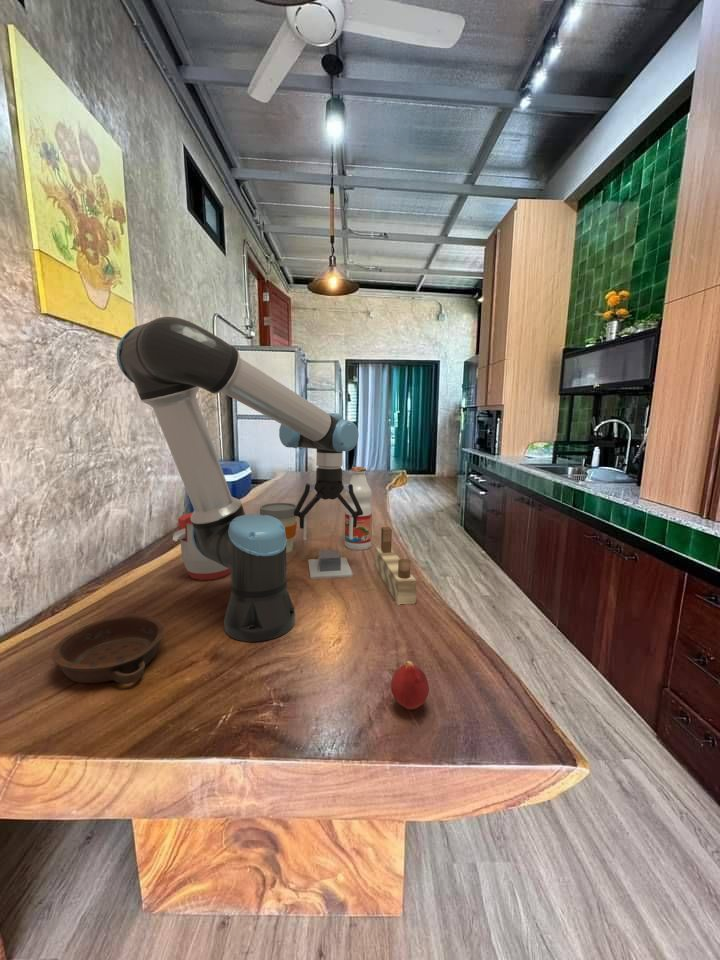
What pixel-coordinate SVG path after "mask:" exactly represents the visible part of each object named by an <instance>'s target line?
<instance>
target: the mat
mask: <svg viewBox="0 0 720 960" xmlns="http://www.w3.org/2000/svg"><path fill="white" fill-rule="evenodd" d="M307 562H308V569H309V570H308V571H309V574H310V575H309V578H310V580H315V579H317V580H318V579H332V578H334V579H335V578H353V576H354V574H353V571H352V568H351V567H350V564H349V561H348V559H347V557H341V570H340V571H322V572H320V568H319V563H318V558H316V559H315V558H314V559H313V558H312V559H310V558H309V559H308V560H307Z"/></svg>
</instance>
